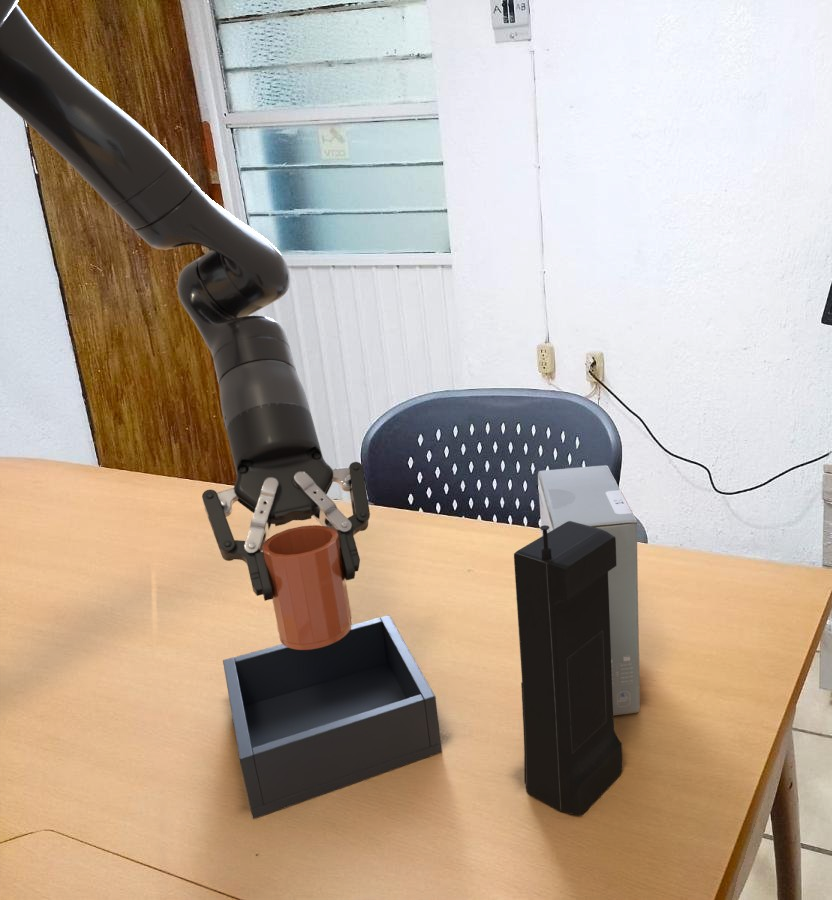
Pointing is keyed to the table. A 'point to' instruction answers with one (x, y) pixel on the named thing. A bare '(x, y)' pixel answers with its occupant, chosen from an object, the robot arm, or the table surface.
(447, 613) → the table surface
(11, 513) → the table surface
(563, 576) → the portable radio
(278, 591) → the pot
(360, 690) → the open box
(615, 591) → the hard drive box
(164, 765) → the table surface
